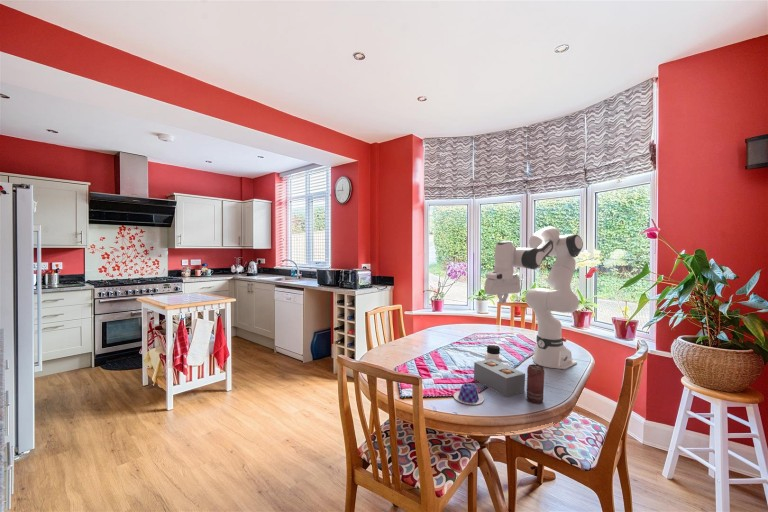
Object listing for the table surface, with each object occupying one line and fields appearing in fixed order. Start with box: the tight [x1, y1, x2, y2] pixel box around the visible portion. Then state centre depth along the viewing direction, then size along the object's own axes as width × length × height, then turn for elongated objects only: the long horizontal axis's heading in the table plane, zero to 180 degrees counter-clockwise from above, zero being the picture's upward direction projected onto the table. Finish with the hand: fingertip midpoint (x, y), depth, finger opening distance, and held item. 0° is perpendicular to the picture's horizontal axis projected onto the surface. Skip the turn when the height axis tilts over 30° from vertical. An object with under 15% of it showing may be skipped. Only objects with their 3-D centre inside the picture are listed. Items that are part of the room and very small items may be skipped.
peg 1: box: [487, 362, 496, 367], centre depth 151 cm, size 4×4×8 cm
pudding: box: [453, 383, 485, 405], centre depth 135 cm, size 12×12×5 cm
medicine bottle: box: [484, 344, 503, 363], centre depth 165 cm, size 7×7×12 cm
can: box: [526, 363, 545, 405], centre depth 133 cm, size 6×6×14 cm
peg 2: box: [502, 369, 512, 374], centre depth 143 cm, size 4×4×8 cm
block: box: [473, 359, 526, 398], centre depth 147 cm, size 11×19×8 cm, turn 26°
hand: (502, 303), depth 160 cm, fingers closed
